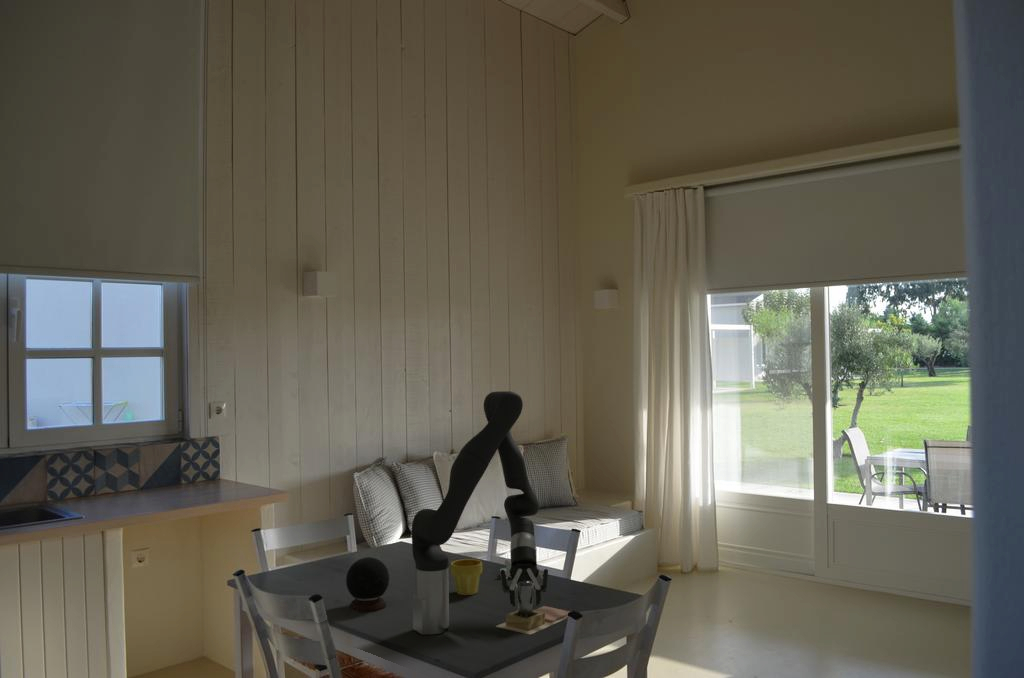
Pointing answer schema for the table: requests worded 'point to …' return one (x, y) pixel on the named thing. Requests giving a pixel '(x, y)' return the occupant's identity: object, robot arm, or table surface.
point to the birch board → (534, 620)
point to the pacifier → (507, 567)
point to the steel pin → (525, 598)
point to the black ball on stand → (367, 584)
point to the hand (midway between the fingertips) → (525, 604)
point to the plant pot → (466, 575)
